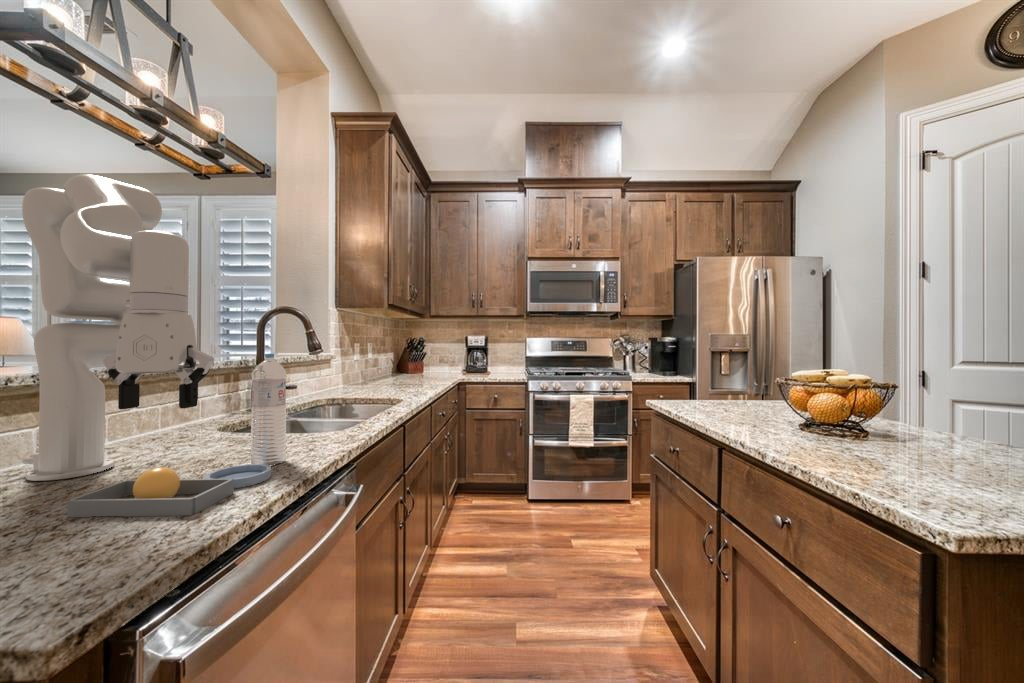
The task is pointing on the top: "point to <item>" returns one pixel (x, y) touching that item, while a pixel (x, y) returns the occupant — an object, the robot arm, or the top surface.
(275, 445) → the water bottle
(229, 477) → the dish
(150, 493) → the yellow-orange oval ball
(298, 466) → the top surface
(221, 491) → the shallow grey tray
